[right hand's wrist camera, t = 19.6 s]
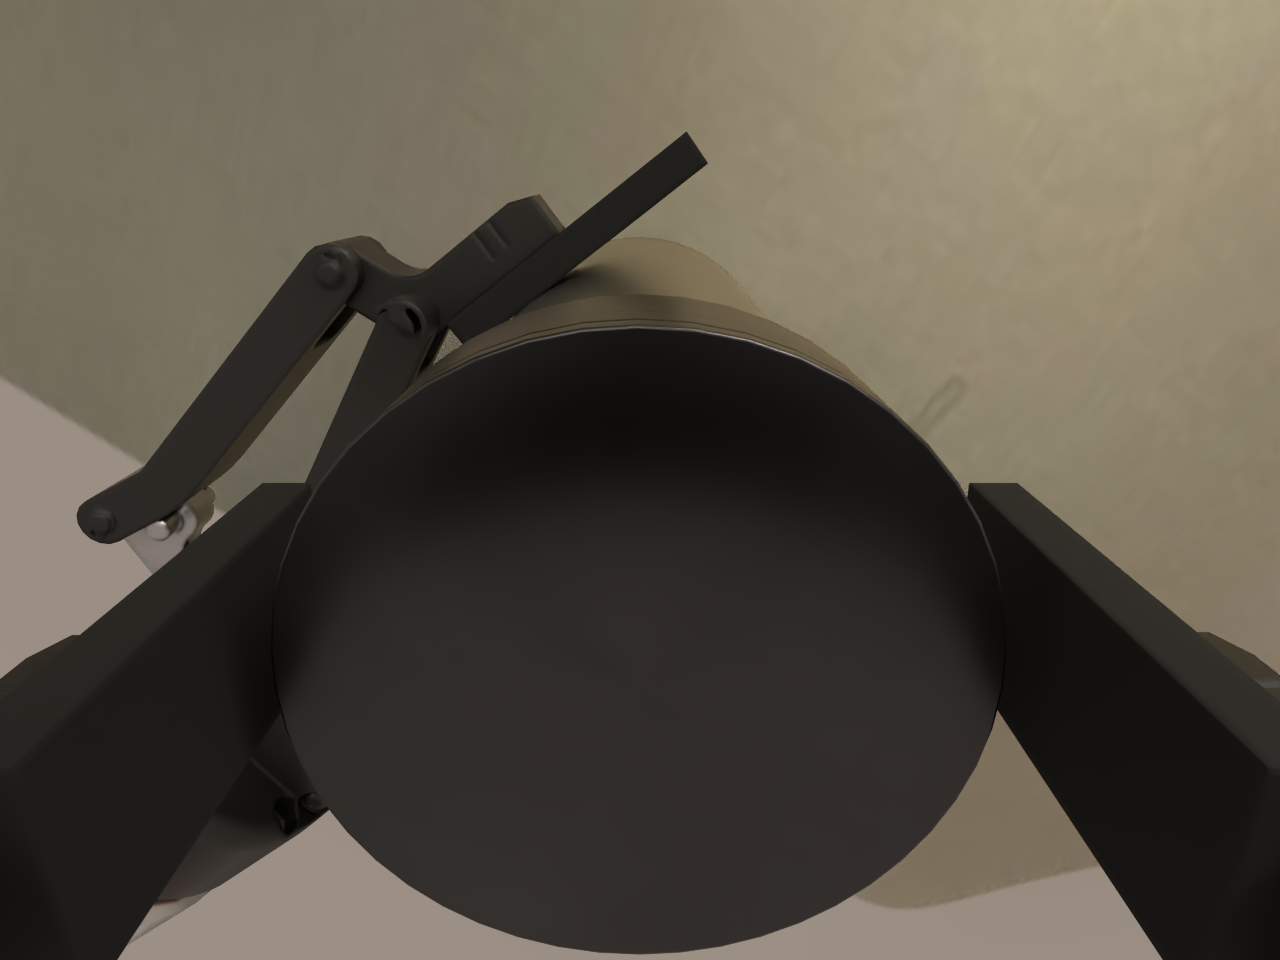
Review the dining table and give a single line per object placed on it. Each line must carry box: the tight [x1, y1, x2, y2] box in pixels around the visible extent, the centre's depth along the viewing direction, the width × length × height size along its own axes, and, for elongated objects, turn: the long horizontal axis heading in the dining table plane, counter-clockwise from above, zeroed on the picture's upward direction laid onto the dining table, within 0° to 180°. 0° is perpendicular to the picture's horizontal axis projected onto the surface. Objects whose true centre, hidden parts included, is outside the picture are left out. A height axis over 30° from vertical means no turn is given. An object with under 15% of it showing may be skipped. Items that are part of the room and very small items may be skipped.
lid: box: [271, 294, 1007, 954], centre depth 11 cm, size 9×9×2 cm
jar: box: [512, 238, 767, 319], centre depth 18 cm, size 8×8×17 cm
